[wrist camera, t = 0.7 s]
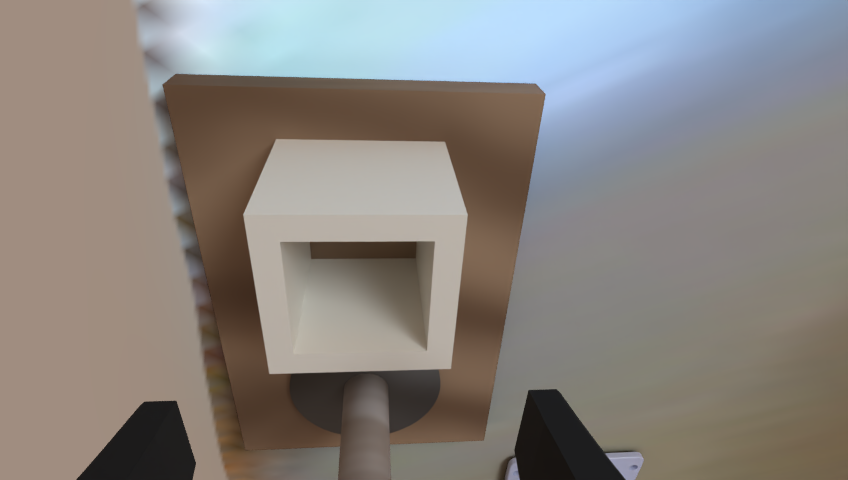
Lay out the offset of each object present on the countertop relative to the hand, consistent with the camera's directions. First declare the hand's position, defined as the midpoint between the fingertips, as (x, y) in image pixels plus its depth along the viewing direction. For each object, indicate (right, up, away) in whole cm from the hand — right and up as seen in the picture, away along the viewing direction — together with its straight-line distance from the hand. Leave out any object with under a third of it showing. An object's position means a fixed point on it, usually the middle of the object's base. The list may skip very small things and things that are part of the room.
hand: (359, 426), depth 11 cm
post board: (-1, +2, +11) cm, 11 cm away
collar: (-1, +5, +8) cm, 9 cm away
